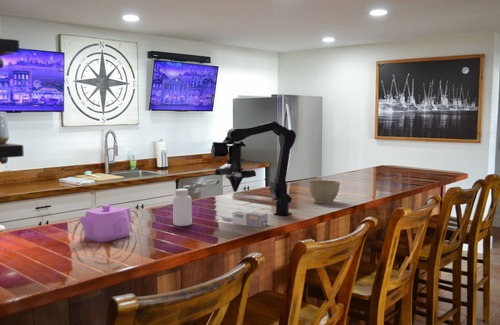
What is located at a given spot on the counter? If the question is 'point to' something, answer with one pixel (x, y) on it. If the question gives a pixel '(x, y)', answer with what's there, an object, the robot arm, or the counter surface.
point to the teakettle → (106, 223)
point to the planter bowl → (324, 190)
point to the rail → (230, 220)
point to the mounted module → (257, 218)
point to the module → (240, 217)
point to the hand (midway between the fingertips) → (235, 191)
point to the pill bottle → (182, 208)
